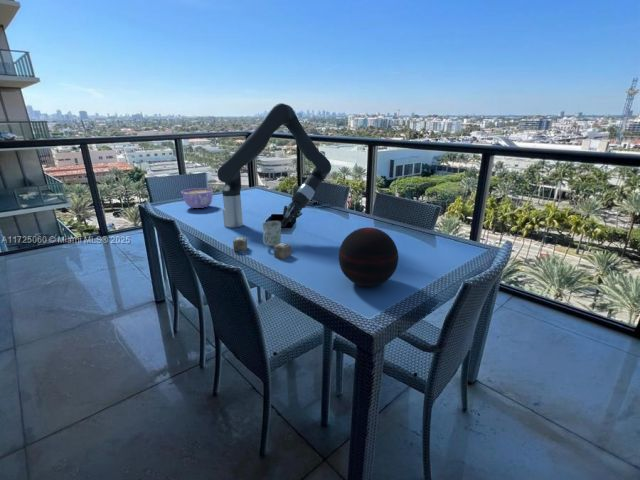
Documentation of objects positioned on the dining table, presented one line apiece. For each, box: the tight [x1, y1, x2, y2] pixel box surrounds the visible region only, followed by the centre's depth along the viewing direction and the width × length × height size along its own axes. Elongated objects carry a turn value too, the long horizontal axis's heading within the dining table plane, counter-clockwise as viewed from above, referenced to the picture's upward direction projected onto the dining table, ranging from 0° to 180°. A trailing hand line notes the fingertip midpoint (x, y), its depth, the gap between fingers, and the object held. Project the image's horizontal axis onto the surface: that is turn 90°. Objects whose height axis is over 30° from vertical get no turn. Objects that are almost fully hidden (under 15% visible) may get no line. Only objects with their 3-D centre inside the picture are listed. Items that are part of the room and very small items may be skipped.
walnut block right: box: [273, 242, 292, 260], centre depth 137 cm, size 5×5×5 cm
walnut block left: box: [232, 236, 248, 253], centre depth 145 cm, size 5×5×5 cm
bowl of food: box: [181, 187, 214, 209], centre depth 217 cm, size 20×20×12 cm
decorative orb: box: [338, 227, 399, 288], centre depth 111 cm, size 20×20×20 cm
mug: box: [262, 220, 282, 247], centre depth 148 cm, size 8×13×10 cm, turn 160°
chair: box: [291, 172, 315, 206], centre depth 229 cm, size 13×17×22 cm
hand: (282, 225), depth 150 cm, fingers closed
